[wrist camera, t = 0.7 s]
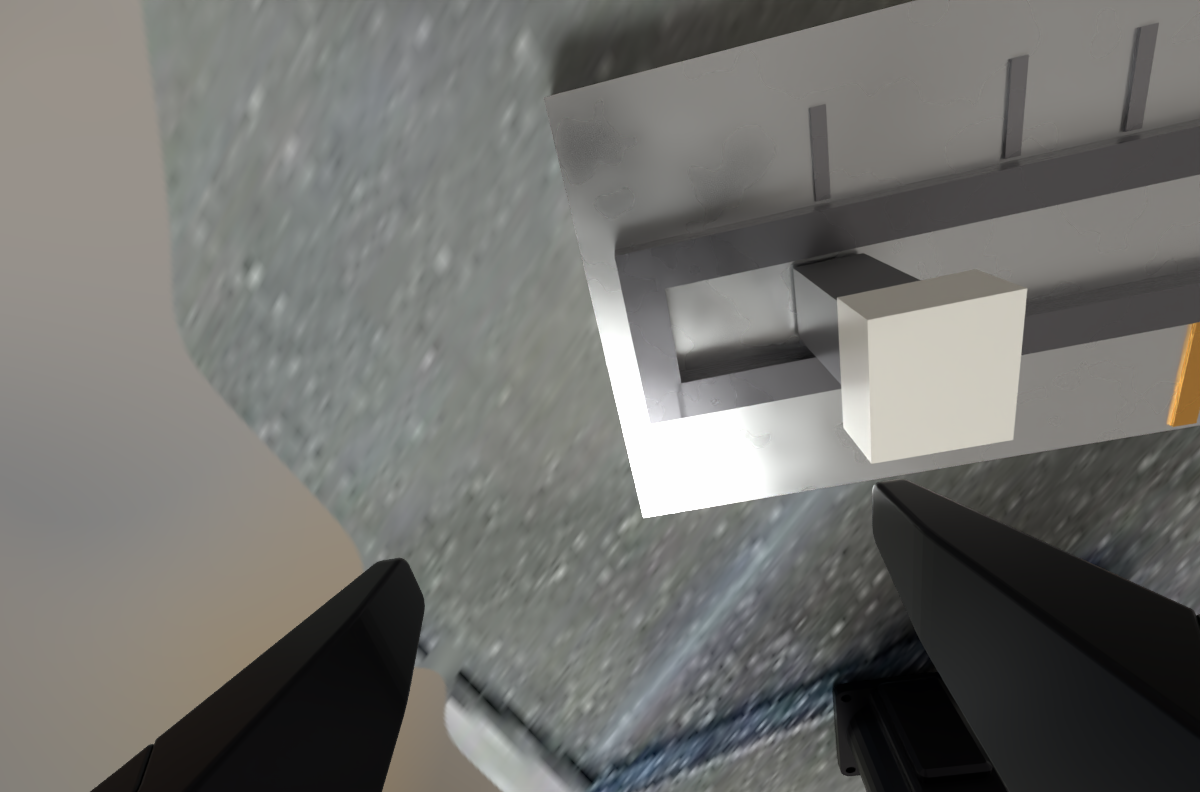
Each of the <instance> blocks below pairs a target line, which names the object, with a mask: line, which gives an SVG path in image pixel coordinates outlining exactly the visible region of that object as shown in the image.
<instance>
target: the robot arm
mask: <svg viewBox="0 0 1200 792" xmlns="http://www.w3.org/2000/svg"><path fill="white" fill-rule="evenodd" d="M872 526H873V534H874V539H875V542H876V544H877V547H878V549H879V551H880V553H881V556H882V558H883V560H884V562H885V565H886V567H887V569H888V571H889V573H890V576H891V578H892V580H893V582H894V584H895V587H896V589H897V591H898V593H899V596H900V598H901V600H902V602H903V604H904V607H905V609H906V611H907V613H908V615H909V618H910V620H911V622H912V624H913V626H914V629H915V631H916V633H917V635H918V637H919V639H920V641H921V643H922V645H923V646H924V648H925V650H926V652H927V654H928V655H929V657H930V659H931V661H932V662H933V664H934V666H935V667H936V669H937V671H938V672H932V673H924V674H916V675H908V676H900V677H892V678H884V679H876V680H868V681H860V682H853V683H845V684H840V685H838V686H836V687H835V688H834V689H833V704H834V717H835V730H836V743H837V757H838V765H839V767H840V770H841V773H842V774H843V775H846V776H856V775H861V778H862V780H863V783H864V786H865V788H866V791H867V792H1200V614H1199V615H1197V616H1196V614H1195V612H1194V611H1193V610H1192V609H1191V608H1188V607H1186V606H1184V605H1182V604H1180V603H1177V602H1175V601H1173V600H1171V599H1169V598H1166V597H1164V596H1162V595H1160V594H1158V593H1155V592H1153V591H1151V590H1149V589H1147V588H1144V587H1142V586H1140V585H1138V584H1135V583H1133V582H1131V581H1129V580H1127V579H1124V578H1122V577H1120V576H1118V575H1116V574H1113V573H1111V572H1109V571H1107V570H1105V569H1102V568H1100V567H1098V566H1096V565H1094V564H1091V563H1089V562H1087V561H1085V560H1083V559H1080V558H1078V557H1076V556H1074V555H1072V554H1069V553H1067V552H1065V551H1063V550H1061V549H1058V548H1056V547H1054V546H1052V545H1050V544H1047V543H1045V542H1043V541H1041V540H1039V539H1036V538H1034V537H1032V536H1030V535H1028V534H1025V533H1023V532H1021V531H1019V530H1017V529H1014V528H1012V527H1010V526H1008V525H1005V524H1003V523H1001V522H999V521H997V520H994V519H992V518H990V517H988V516H986V515H983V514H981V513H979V512H977V511H975V510H972V509H970V508H968V507H966V506H964V505H961V504H959V503H957V502H955V501H953V500H950V499H948V498H946V497H944V496H942V495H939V494H937V493H935V492H933V491H931V490H928V489H926V488H924V487H922V486H920V485H917V484H915V483H913V482H911V481H908V480H906V479H895V480H889V481H882V482H877V483H876V484H875V485H874V486H873V489H872ZM424 607H425V604H424V598H423V594H422V592H421V590H420V588H419V585H418V583H417V581H416V579H415V577H414V574H413V572H412V570H411V568H410V566H409V564H408V562H407V561H406V560H405V559H402V558H395V559H389V560H382V561H379V562H377V563H375V564H374V565H373V566H371V567H370V568H369V569H368V570H366V571H365V572H364V573H363V574H361V575H360V576H359V577H358V578H356V579H355V580H354V581H353V582H352V583H350V584H349V585H348V586H347V587H345V588H344V589H343V590H341V591H340V592H339V593H338V594H337V595H335V596H334V597H333V598H331V599H330V600H329V601H328V602H326V603H325V604H324V605H323V606H321V607H320V608H319V609H318V610H317V611H315V612H314V613H313V614H312V615H310V616H309V617H308V618H307V619H305V620H304V621H303V622H302V623H300V624H299V625H298V626H297V627H296V628H294V629H293V630H292V631H290V632H289V633H288V634H287V635H285V636H284V637H283V638H282V639H280V640H279V641H278V642H277V643H275V644H274V645H273V646H272V647H270V648H269V649H268V650H267V651H266V652H264V653H263V654H262V655H260V656H259V657H258V658H257V659H256V660H254V661H253V662H252V663H251V664H249V665H248V666H247V667H246V668H244V669H243V670H242V671H241V672H239V673H238V674H237V675H236V676H234V677H233V678H232V679H231V680H229V681H228V682H227V683H226V684H224V685H223V686H222V687H221V688H220V689H218V690H217V691H216V692H214V693H213V694H212V695H211V696H210V697H208V698H207V699H206V700H204V701H203V702H202V703H201V704H199V705H198V706H197V707H196V708H194V710H192V711H191V712H189V713H188V714H187V715H186V716H185V717H183V718H182V719H181V720H180V721H178V722H177V723H176V724H175V725H173V726H172V727H171V728H170V729H168V730H167V731H166V732H165V733H163V734H162V735H161V736H160V737H158V738H157V739H156V741H155V744H151V745H148V746H147V747H146V748H144V749H143V750H142V751H141V752H139V753H138V754H137V755H136V756H134V757H133V758H132V759H131V760H130V761H128V762H127V763H126V764H125V765H123V766H122V767H121V768H120V769H118V770H117V771H116V772H115V773H113V774H112V775H111V776H110V777H108V778H107V779H106V780H104V781H103V782H102V783H100V784H99V785H98V786H97V787H95V788H94V789H93V790H92V791H90V792H382V789H383V786H384V782H385V779H386V776H387V772H388V769H389V765H390V762H391V758H392V755H393V751H394V748H395V745H396V741H397V738H398V734H399V731H400V727H401V724H402V720H403V717H404V713H405V709H406V705H407V701H408V696H409V691H410V686H411V681H412V675H413V670H414V665H415V659H416V654H417V648H418V643H419V637H420V632H421V626H422V621H423V616H424Z"/></svg>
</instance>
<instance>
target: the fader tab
mask: <svg viewBox="0 0 1200 792" xmlns="http://www.w3.org/2000/svg"><path fill="white" fill-rule="evenodd" d="M793 273H794V286H795V298H796V310H797V322H798V335H799V339H800V340H801V341H802V342H803V343H804V344H805V345H806V346H807V347H808V349H809V350H810V351H811V352H812V353H813V354H814V355H815V356H816V357H817V359H818V360H819V361H820V362H821V363H822V364H823V365H824V366H825V367H826V369H827V370H828V371H829V372H830V373H831V374H832V375H833V376H834V377H835V378H836V380H837V381H838V382H839V383H840V384H841V391H842V411H843V428H844V429H845V430H846V432H847V433H848V434H849V436H850V437H851V438H852V440H853V441H854V442H855V443H856V445H857V446H858V447H859V449H860V450H861V451H862V452H863V454H864V455H865V456H866V458H867V459H868V460H869V461H870V463H871V464H874V463H880V462H886V461H892V460H898V459H903V458H909V457H915V456H921V455H927V454H933V453H939V452H945V451H951V450H956V449H962V448H968V447H974V446H980V445H986V444H992V443H998V442H1004V441H1010V440H1013V436H1014V426H1015V415H1016V405H1017V394H1018V383H1019V373H1020V362H1021V351H1022V341H1023V330H1024V319H1025V309H1026V298H1027V288H1025V287H1022V286H1020V285H1017V284H1014V283H1012V282H1009V281H1006V280H1004V279H1001V278H998V277H995V276H993V275H990V274H987V273H985V272H982V271H979V270H977V269H974V270H969V271H964V272H959V273H955V274H950V275H945V276H940V277H935V278H930V279H925V280H919V279H917V278H915V277H913V276H911V275H909V274H906V273H904V272H902V271H900V270H898V269H896V268H894V267H892V266H890V265H888V264H886V263H883V262H881V261H879V260H877V259H875V258H873V257H871V256H869V255H867V254H865V253H861V254H856V255H851V256H847V257H842V258H837V259H833V260H828V261H823V262H818V263H814V264H809V265H804V266H800V267H795V268H793Z"/></svg>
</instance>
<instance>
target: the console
mask: <svg viewBox="0 0 1200 792" xmlns="http://www.w3.org/2000/svg"><path fill="white" fill-rule="evenodd" d="M544 101H545V105H546V109H547V113H548V117H549V122H550V126H551V130H552V134H553V139H554V143H555V147H556V151H557V155H558V160H559V164H560V168H561V172H562V177H563V181H564V185H565V189H566V193H567V198H568V202H569V206H570V210H571V215H572V219H573V223H574V227H575V231H576V236H577V240H578V244H579V248H580V253H581V257H582V261H583V265H584V269H585V274H586V278H587V282H588V286H589V291H590V295H591V299H592V303H593V307H594V312H595V316H596V320H597V324H598V329H599V333H600V337H601V341H602V345H603V350H604V354H605V358H606V362H607V367H608V371H609V375H610V379H611V383H612V388H613V392H614V396H615V400H616V405H617V409H618V413H619V417H620V421H621V426H622V430H623V434H624V438H625V443H626V447H627V451H628V455H629V459H630V464H631V468H632V472H633V476H634V481H635V485H636V489H637V493H638V497H639V502H640V506H641V510H642V514H643V518H646V517H652V516H658V515H664V514H670V513H676V512H682V511H688V510H694V509H700V508H706V507H712V506H718V505H724V504H730V503H736V502H742V501H748V500H754V499H760V498H766V497H772V496H778V495H784V494H790V493H796V492H802V491H808V490H814V489H820V488H826V487H832V486H838V485H844V484H850V483H856V482H862V481H868V480H874V479H880V478H886V477H892V476H898V475H904V474H910V473H916V472H922V471H928V470H934V469H940V468H946V467H952V466H958V465H964V464H970V463H976V462H982V461H988V460H994V459H1000V458H1006V457H1012V456H1018V455H1024V454H1030V453H1036V452H1042V451H1048V450H1054V449H1060V448H1066V447H1072V446H1078V445H1084V444H1090V443H1096V442H1102V441H1108V440H1114V439H1120V438H1126V437H1133V436H1139V435H1145V434H1151V433H1157V432H1163V431H1169V430H1175V429H1181V428H1187V427H1193V426H1199V425H1200V0H915V1H911V2H908V3H904V4H900V5H896V6H892V7H888V8H885V9H881V10H877V11H873V12H869V13H865V14H862V15H858V16H854V17H850V18H846V19H842V20H839V21H835V22H831V23H827V24H823V25H819V26H816V27H812V28H808V29H804V30H800V31H796V32H792V33H789V34H785V35H781V36H777V37H773V38H769V39H766V40H762V41H758V42H754V43H750V44H746V45H743V46H739V47H735V48H731V49H727V50H723V51H720V52H716V53H712V54H708V55H704V56H700V57H697V58H693V59H689V60H685V61H681V62H677V63H674V64H670V65H666V66H662V67H658V68H654V69H651V70H647V71H643V72H639V73H635V74H631V75H628V76H624V77H620V78H616V79H612V80H608V81H605V82H601V83H597V84H593V85H589V86H585V87H582V88H578V89H574V90H570V91H566V92H562V93H559V94H555V95H551V96H547V97H544ZM861 253H865V254H867V255H869V256H871V257H873V258H875V259H877V260H879V261H881V262H883V263H886V264H888V265H890V266H892V267H894V268H896V269H898V270H900V271H902V272H904V273H906V274H909V275H911V276H913V277H915V278H917V279H919V280H925V279H930V278H935V277H940V276H945V275H950V274H955V273H959V272H964V271H969V270H974V269H977V270H979V271H982V272H985V273H987V274H990V275H993V276H995V277H998V278H1001V279H1004V280H1006V281H1009V282H1012V283H1014V284H1017V285H1020V286H1022V287H1025V288H1027V298H1026V309H1025V319H1024V330H1023V341H1022V351H1021V362H1020V373H1019V383H1018V394H1017V405H1016V415H1015V426H1014V436H1013V440H1010V441H1004V442H998V443H992V444H986V445H980V446H974V447H968V448H962V449H956V450H951V451H945V452H939V453H933V454H927V455H921V456H915V457H909V458H903V459H898V460H892V461H886V462H880V463H874V464H871V463H870V461H869V460H868V459H867V458H866V456H865V455H864V454H863V452H862V451H861V450H860V449H859V447H858V446H857V445H856V443H855V442H854V441H853V440H852V438H851V437H850V436H849V434H848V433H847V432H846V430H845V429H844V428H843V411H842V391H841V384H840V383H839V382H838V381H837V380H836V378H835V377H834V376H833V375H832V374H831V373H830V372H829V371H828V370H827V369H826V367H825V366H824V365H823V364H822V363H821V362H820V361H819V360H818V359H817V357H816V356H815V355H814V354H813V353H812V352H811V351H810V350H809V349H808V347H807V346H806V345H805V344H804V343H803V342H802V341H801V340H800V339H799V335H798V322H797V310H796V298H795V286H794V273H793V268H795V267H800V266H804V265H809V264H814V263H818V262H823V261H828V260H833V259H837V258H842V257H847V256H851V255H856V254H861Z"/></svg>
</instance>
